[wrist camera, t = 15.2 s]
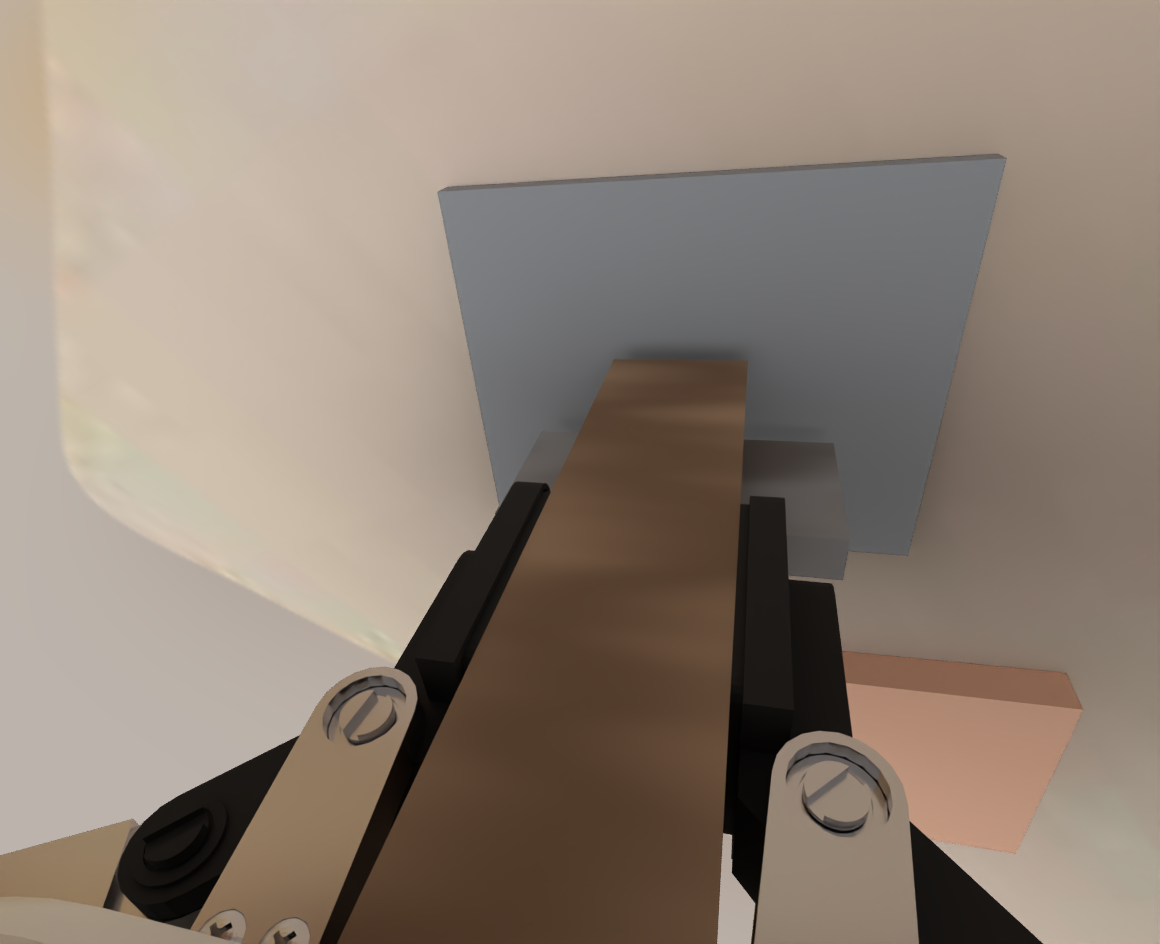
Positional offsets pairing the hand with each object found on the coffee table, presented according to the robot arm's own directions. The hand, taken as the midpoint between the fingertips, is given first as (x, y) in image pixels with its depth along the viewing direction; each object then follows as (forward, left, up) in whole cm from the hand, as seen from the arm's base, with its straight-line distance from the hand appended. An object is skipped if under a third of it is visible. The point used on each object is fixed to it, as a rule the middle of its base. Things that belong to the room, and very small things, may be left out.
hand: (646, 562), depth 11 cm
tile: (-8, +10, -7) cm, 14 cm away
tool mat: (0, 0, -7) cm, 7 cm away
